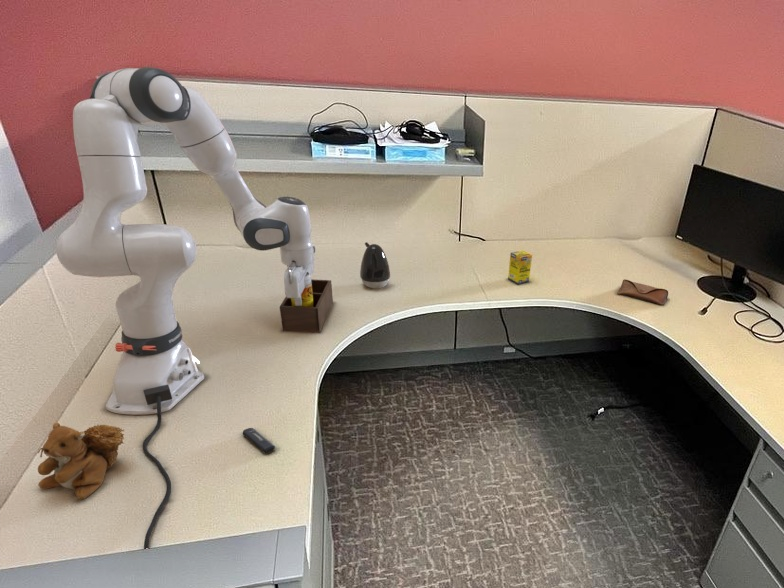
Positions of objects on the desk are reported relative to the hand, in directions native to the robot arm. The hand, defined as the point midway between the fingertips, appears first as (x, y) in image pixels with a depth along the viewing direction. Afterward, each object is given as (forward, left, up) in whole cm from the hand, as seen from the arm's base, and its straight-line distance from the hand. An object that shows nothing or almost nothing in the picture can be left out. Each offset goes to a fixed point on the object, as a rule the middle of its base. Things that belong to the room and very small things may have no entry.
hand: (302, 299), depth 166 cm
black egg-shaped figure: (+30, -17, -8) cm, 36 cm away
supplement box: (+41, -69, -8) cm, 81 cm away
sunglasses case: (+32, -115, -8) cm, 120 cm away
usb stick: (-56, -3, -8) cm, 57 cm away
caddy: (+5, 0, -8) cm, 9 cm away
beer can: (0, 0, -7) cm, 7 cm away
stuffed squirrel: (-67, +26, -8) cm, 72 cm away
